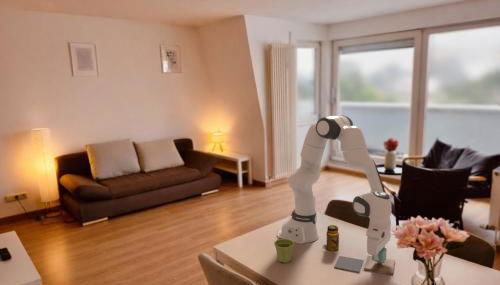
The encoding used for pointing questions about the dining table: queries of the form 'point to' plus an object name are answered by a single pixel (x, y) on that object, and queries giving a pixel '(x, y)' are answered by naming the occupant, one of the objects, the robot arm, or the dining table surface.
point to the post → (380, 266)
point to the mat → (348, 264)
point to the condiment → (332, 240)
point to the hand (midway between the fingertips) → (379, 256)
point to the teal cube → (381, 255)
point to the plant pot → (284, 249)
